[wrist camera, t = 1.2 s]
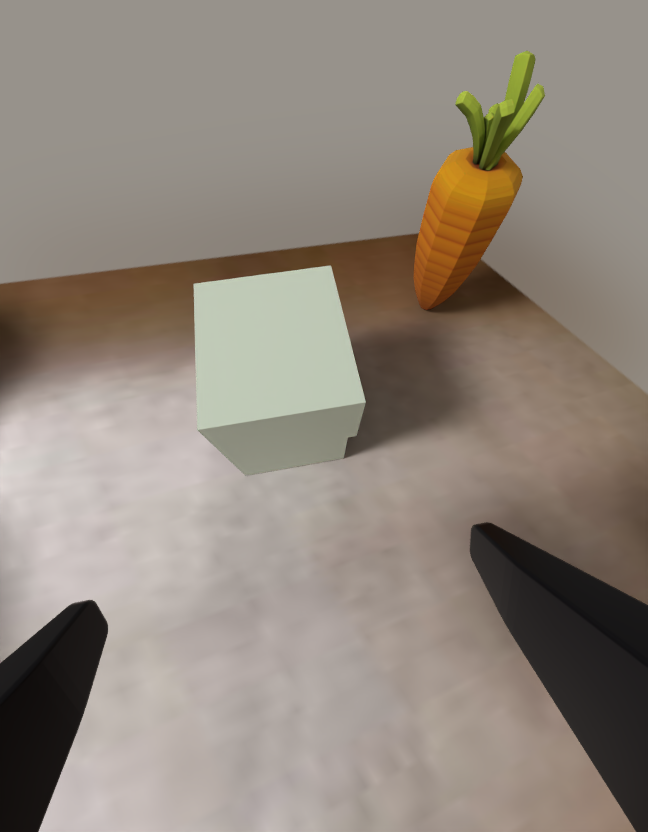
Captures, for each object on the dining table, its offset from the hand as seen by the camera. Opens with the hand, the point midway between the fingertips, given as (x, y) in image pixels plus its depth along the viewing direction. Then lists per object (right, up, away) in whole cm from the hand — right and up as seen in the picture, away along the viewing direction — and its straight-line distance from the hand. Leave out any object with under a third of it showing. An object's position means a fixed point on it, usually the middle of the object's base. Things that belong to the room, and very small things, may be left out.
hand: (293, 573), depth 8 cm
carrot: (+10, +13, +20) cm, 26 cm away
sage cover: (-2, +4, +16) cm, 17 cm away
